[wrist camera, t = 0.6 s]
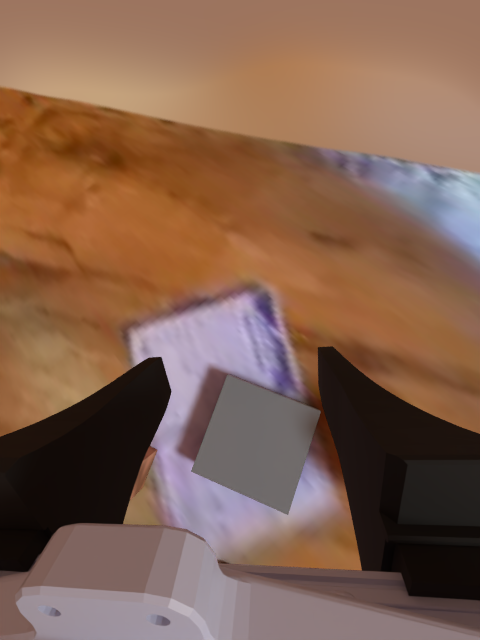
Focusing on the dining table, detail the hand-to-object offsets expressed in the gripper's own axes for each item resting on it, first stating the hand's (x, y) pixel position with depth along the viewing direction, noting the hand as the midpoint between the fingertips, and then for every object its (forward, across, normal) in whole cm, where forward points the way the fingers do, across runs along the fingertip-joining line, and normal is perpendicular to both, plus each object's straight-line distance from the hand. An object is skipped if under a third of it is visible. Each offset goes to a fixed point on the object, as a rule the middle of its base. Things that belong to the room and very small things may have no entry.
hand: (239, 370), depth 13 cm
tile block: (+16, +2, +21) cm, 26 cm away
